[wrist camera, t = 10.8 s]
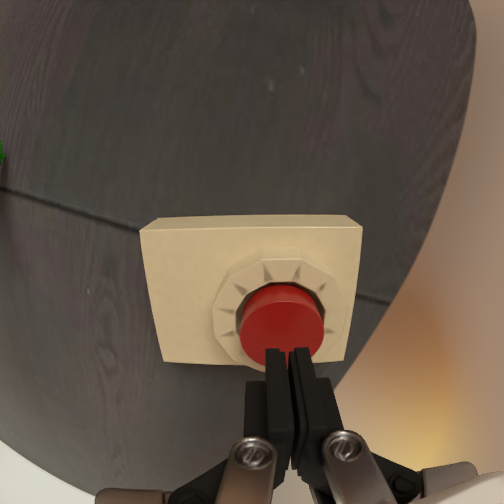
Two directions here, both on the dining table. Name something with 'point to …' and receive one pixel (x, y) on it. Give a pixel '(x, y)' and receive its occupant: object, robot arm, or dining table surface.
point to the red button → (280, 322)
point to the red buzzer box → (245, 278)
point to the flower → (1, 153)
